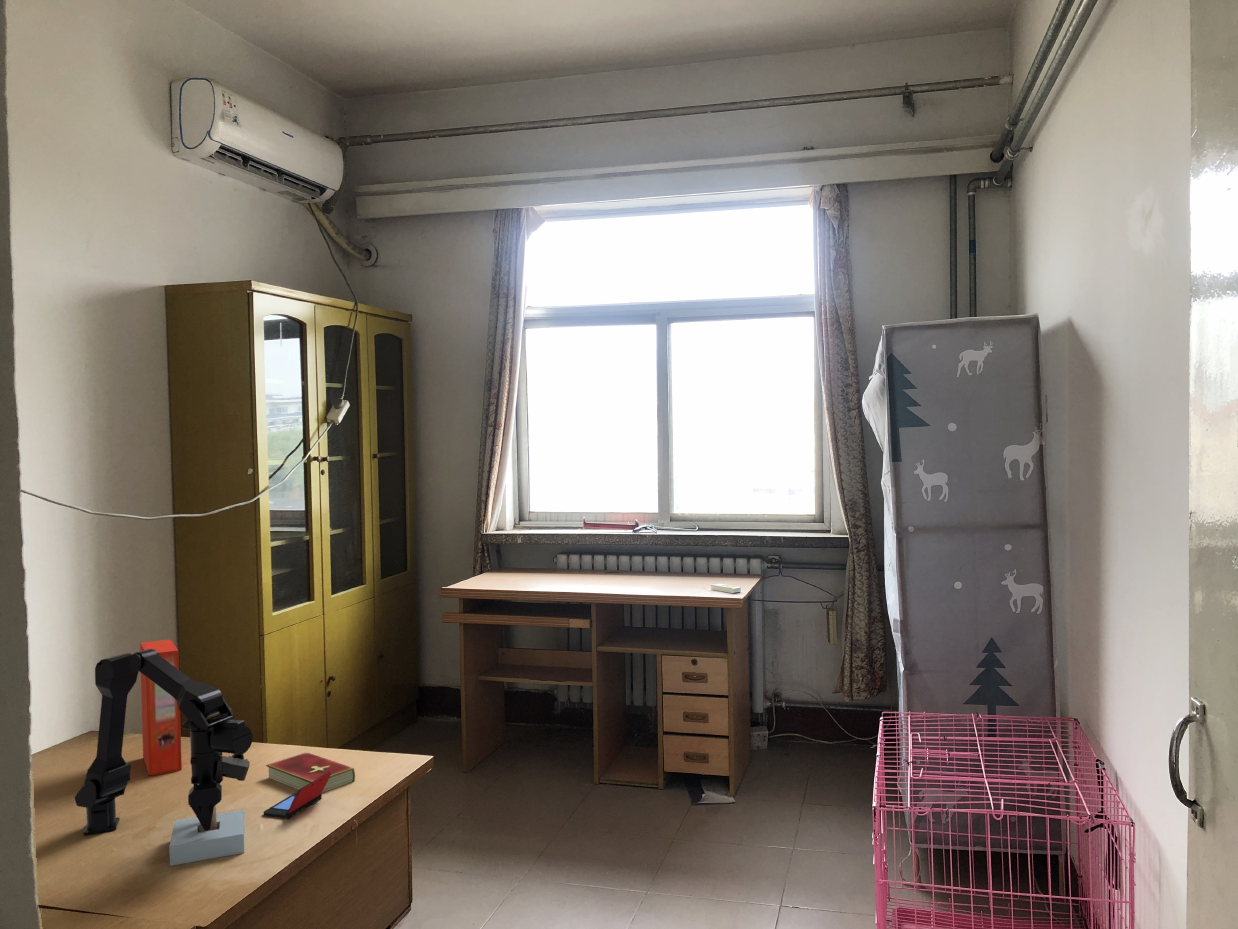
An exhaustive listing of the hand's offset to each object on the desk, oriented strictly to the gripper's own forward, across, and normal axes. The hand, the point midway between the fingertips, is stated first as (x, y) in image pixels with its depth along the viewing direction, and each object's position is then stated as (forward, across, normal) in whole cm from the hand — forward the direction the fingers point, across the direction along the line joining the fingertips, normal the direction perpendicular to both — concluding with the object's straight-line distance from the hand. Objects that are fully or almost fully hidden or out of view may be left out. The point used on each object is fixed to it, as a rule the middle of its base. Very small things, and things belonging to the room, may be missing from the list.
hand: (208, 821), depth 196 cm
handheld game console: (+6, +13, -19) cm, 24 cm away
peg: (+5, 0, 0) cm, 5 cm away
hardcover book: (+6, +32, -22) cm, 39 cm away
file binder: (+5, +62, +14) cm, 64 cm away
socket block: (+5, 0, 0) cm, 5 cm away
